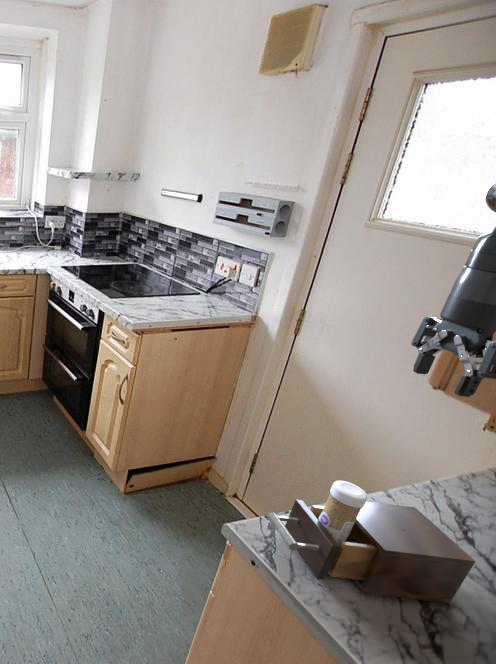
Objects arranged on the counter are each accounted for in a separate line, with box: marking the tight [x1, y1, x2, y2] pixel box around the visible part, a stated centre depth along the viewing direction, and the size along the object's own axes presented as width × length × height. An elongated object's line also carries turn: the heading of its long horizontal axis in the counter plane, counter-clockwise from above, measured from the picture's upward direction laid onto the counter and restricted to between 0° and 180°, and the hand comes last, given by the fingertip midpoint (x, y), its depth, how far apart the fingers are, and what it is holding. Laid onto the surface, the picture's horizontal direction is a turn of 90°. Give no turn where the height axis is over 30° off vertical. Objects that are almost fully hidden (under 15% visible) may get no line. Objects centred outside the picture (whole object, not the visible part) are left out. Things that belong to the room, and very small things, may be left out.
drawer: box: [267, 499, 379, 581], centre depth 78 cm, size 18×10×7 cm, turn 86°
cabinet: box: [352, 500, 477, 605], centre depth 77 cm, size 14×12×9 cm
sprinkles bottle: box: [318, 480, 368, 546], centre depth 77 cm, size 5×5×13 cm
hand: (439, 383), depth 81 cm, fingers open, 8 cm apart
